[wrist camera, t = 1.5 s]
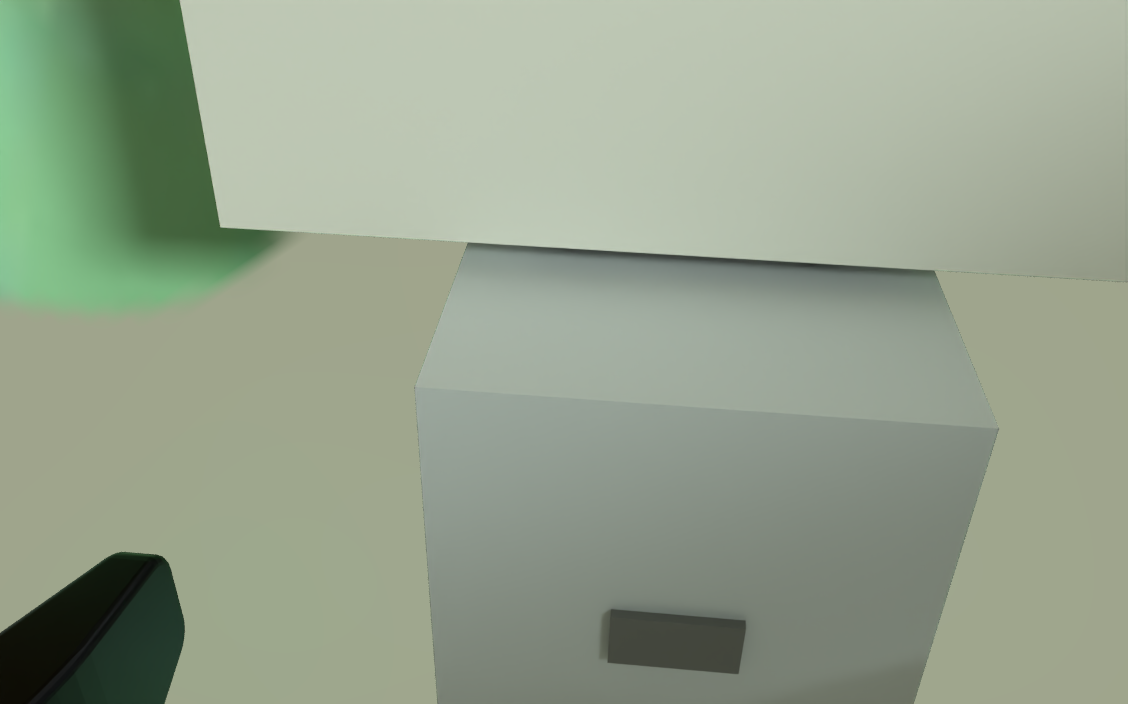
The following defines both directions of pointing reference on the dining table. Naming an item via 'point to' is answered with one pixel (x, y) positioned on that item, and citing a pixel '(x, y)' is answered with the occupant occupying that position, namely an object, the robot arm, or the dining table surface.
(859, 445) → the block
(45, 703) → the robot arm
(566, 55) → the power strip
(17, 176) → the dining table surface
